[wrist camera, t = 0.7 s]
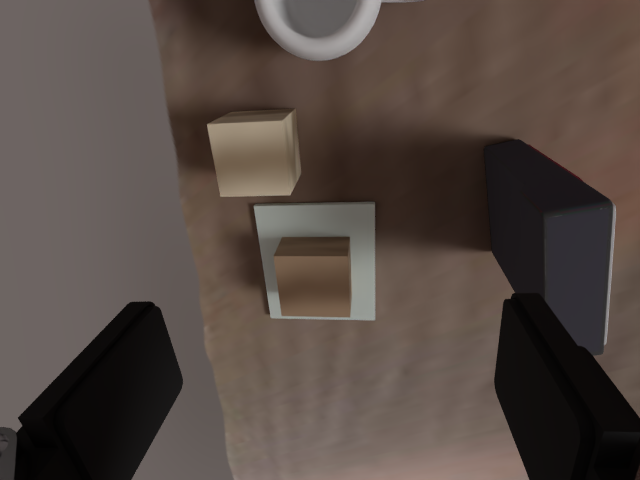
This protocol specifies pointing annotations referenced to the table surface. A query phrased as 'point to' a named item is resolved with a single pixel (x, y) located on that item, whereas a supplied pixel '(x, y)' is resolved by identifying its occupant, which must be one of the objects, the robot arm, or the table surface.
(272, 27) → the mug
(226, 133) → the maple cube
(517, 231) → the black upright slab
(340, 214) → the board
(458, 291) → the table surface
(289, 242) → the walnut block
